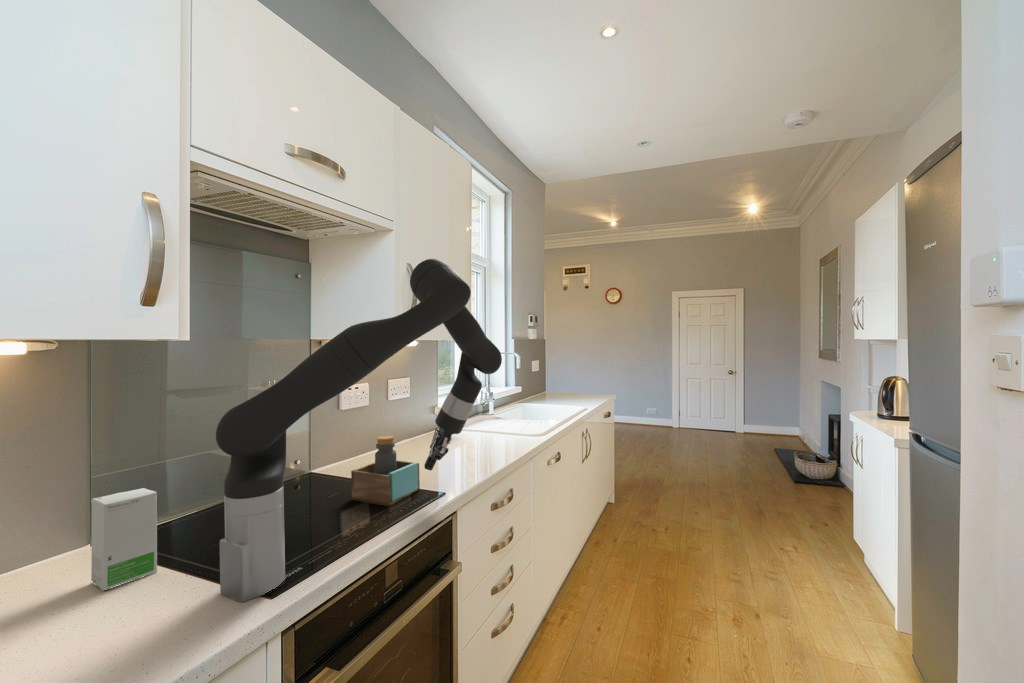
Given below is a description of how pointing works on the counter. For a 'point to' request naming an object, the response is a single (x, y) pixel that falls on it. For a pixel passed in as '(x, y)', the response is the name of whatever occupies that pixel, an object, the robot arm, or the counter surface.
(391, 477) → the teal drawer
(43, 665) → the counter surface
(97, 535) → the skincare box
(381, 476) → the housing
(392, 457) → the bottle
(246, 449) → the robot arm
